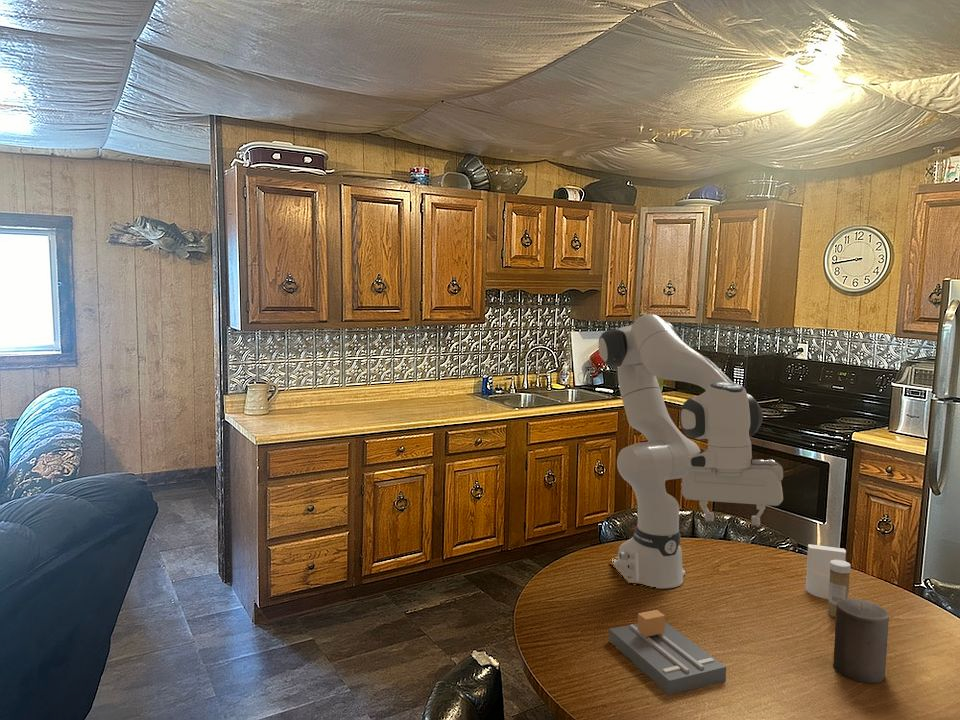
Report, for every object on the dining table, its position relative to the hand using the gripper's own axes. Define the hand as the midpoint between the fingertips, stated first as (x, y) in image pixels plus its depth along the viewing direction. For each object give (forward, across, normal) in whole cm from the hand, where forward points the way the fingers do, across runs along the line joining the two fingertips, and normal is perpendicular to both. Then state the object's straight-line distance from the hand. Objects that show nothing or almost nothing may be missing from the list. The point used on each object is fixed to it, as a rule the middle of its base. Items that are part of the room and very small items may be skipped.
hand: (732, 523), depth 144 cm
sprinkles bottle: (+30, -17, -37) cm, 50 cm away
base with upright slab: (+29, -13, -50) cm, 59 cm away
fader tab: (+26, +18, +4) cm, 31 cm away
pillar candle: (+32, -22, -11) cm, 40 cm away
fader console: (+30, +14, +6) cm, 33 cm away
